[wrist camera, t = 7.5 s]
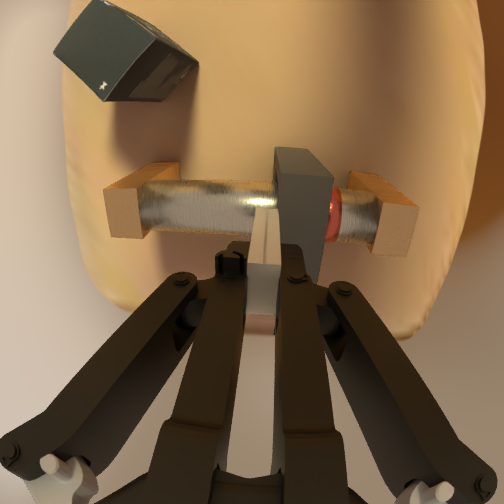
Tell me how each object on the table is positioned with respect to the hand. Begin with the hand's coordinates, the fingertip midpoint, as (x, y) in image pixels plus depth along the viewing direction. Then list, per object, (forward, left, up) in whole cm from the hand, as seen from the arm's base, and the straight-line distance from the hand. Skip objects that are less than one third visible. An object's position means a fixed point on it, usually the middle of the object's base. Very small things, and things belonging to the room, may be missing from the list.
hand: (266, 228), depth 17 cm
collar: (0, +2, -4) cm, 4 cm away
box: (-13, -12, -11) cm, 21 cm away
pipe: (0, -1, -11) cm, 11 cm away
